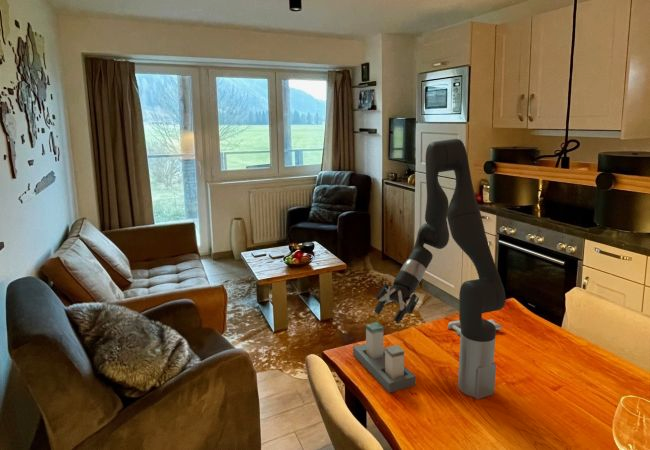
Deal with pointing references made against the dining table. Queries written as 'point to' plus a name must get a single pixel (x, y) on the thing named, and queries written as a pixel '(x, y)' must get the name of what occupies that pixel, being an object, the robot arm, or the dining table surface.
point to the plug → (374, 340)
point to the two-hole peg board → (387, 367)
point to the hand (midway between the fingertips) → (386, 317)
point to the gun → (456, 325)
